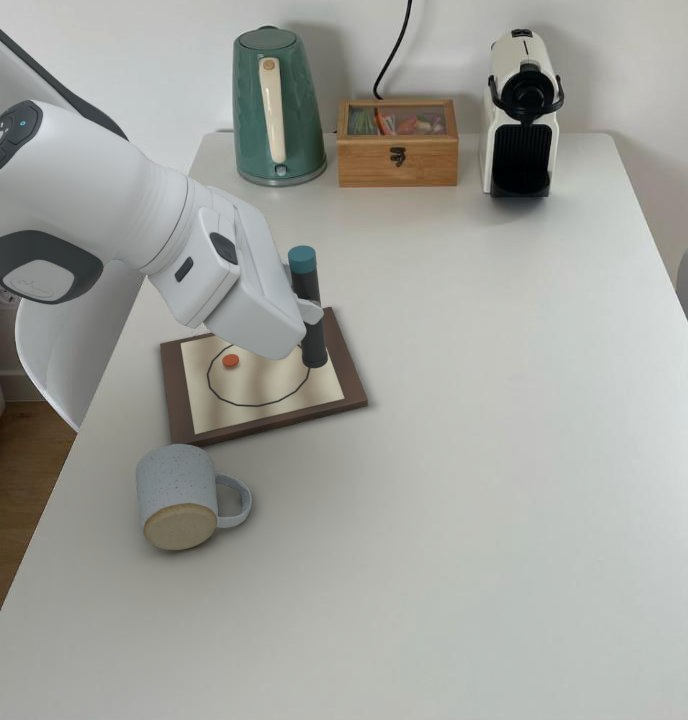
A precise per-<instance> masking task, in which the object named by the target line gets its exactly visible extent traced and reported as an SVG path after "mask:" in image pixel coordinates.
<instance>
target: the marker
mask: <svg viewBox="0 0 688 720" xmlns="http://www.w3.org/2000/svg"><path fill="white" fill-rule="evenodd" d="M287 261H288V262H289V267H290V271H291V278H292V285H293V292H294V293H295V294H297V296H298V298H299V299H304V300H305V299H306V297H307V296H309V297H310V298H312V299H314V300H315V301H318V302H319V303H320V305H321V306H322V302H321V293H320V284H319V275H318V267H317V266H318V262H317V253H316V250H315V248H314V247H312V246H309V245H304V244H303V245H302V244H301V245H296V246H294V247H292V248H290V249H289V250H288V251H287ZM303 322H304V325H305V327H306V335H305V337H304V338H303V339H302V340H301V349H302V362H303V364H304V365H305V366H306V367H308V368H320V367H322V366H324V365H325V364H326V363H327V361H328V353H327V351H326V344H325V335H324V327H323V318H321V319H320V320H319V321H318V322H317V323H316V324H314V325H311V324H309V323H307V322H305V321H303Z"/></svg>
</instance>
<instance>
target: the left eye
mask: <svg viewBox="0 0 688 720" xmlns="http://www.w3.org/2000/svg"><path fill="white" fill-rule="evenodd" d="M238 362H239V357H238V356H237V355H235V354H229V355H226V356H225V357H224V358H223V359H222V363H223V365H224V366H226V367H232V366H235V365H237V364H238Z"/></svg>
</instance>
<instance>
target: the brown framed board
mask: <svg viewBox="0 0 688 720" xmlns="http://www.w3.org/2000/svg"><path fill="white" fill-rule="evenodd" d="M322 310H323V312H324V315H323V317H322V318H323V327H324V335H325V344H326V351H327V353H328V361H327V363H326V364H325V365H324V366H322V367H320V368H308V367H306V366H305V365H304V364H303V362H302V349H301V342H300V343H299V344H298V345H297V346H296V347H295V348H294V350H293V351H292V352H291V353H290V354H289V355H288V356H287V357H286V358H284V359H280V360H270V359H267V358H264V357H262V356H259V355H256V354H254V353H252V352H249V351H247V350H244V349H242V348H240V347H238V346H235V345H233V344H231V343H229V342H227V341H225V340H223V339H221V338H219V337H218V336H216V335H215V334H213V333H212V332H211V331H210V332H207V333H202V334H198V335H193V336H189V337H184V338H179V339H174V340H171V341H165V342H160V343H159V348H160V356H161V363H162V370H163V379H164V386H165V392H166V401H167V409H168V417H169V418H168V419H169V425H170V432H171V433H170V434H171V439H172V444H186V445H192V446H196V447H199V448H201V447H204V446H207V445H213V444H216V443H221V442H225V441H228V440H232V439H237V438H241V437H245V436H249V435H254V434H258V433H262V432H266V431H270V430H274V429H278V428H282V427H286V426H290V425H294V424H298V423H302V422H307V421H310V420H314V419H318V418H319V419H320V418H323V417H327V416H331V415H336V414H340V413H343V412H348V411H352V410H355V409H360V408H364V407H369V399H368V397H367V394H366V391H365V389H364V387H363V384H362V381H361V378H360V376H359V373H358V371H357V369H356V366H355V363H354V360H353V358H352V355H351V353H350V350H349V348H348V346H347V342H346V339H345V338H344V335H343V333H342V330H341V327H340V325H339V321H338V320H337V318H336V314H335V312H334V310H333V307H332V306H326V307H322ZM229 354H235V355H237V356H238V357H239V362H238V364H237V365H235V366H232V367H226V366H224V365H223V363H222V359H223V358H224V357H225V356H226V355H229Z"/></svg>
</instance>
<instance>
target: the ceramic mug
mask: <svg viewBox="0 0 688 720" xmlns="http://www.w3.org/2000/svg"><path fill="white" fill-rule="evenodd" d="M134 471H135V482H136V483H135V484H136V494H137V495H136V496H137V503H138V515H139V516H138V517H139V523H140V527H141V529H142V530H141V531H142V534H143V536H144V538H145V539H146V541H147V542H148V543H149V544H151V545H152V546H154V547H156V548H159V549H161V550H168V551H180V550H186V549H187V550H188V549H190V548H193V547H194V548H195V547H196V546H198V545H200V544H202V543H204V542H205V541H206V540H208V539H209V538H210V537H211V536H212V535H213V534H214V533H215V531H216V528H220V529H227V528H228V529H229V528H232V527H236V526H239V525H240V524H242V523H244V521H246V519H247V517H248V515H249V513H250V510H251V508H252V507H253V506H252V505H253V496H252V493H251V490H250V487H249V486H248V485H247V484H246V483H245V482H243V480H241V479H239V478H237V477H236V476H233V475H230V474H228V473H224V472H219V471H216V470H215V462H214V461H213V458H212V456H211V455H210V453H208V452H207V451H206V450H204V449H203V448H201V447H196V446H192V445H186V444H173V443H172V444H166V445H162V446H159V447H155V448H154V449H152V450H150V451H149V452H147V453H145V454H144V455H143V456H142V457H141V458H140V460H139V461H138V462H137V465H136V467H135V470H134ZM216 484H218V485H221V486H226V487H229V488H230V489H232V490H234V491H235V492H238V493H239V495H240V497H241V504H242V506H241V509H240V514H236V515H232V516H219V507H218V497H217V485H216Z"/></svg>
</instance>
